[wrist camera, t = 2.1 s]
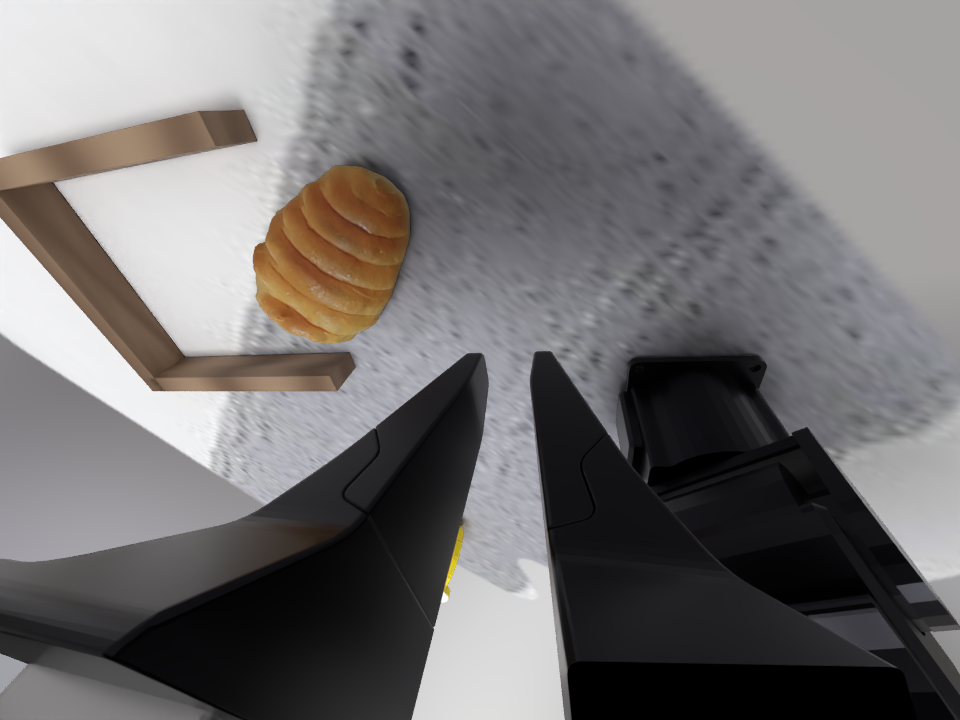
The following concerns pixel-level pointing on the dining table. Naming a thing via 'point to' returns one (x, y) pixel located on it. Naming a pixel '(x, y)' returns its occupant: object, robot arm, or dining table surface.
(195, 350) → the dining table surface
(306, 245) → the pastry
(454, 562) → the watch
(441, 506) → the robot arm
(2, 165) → the frame
